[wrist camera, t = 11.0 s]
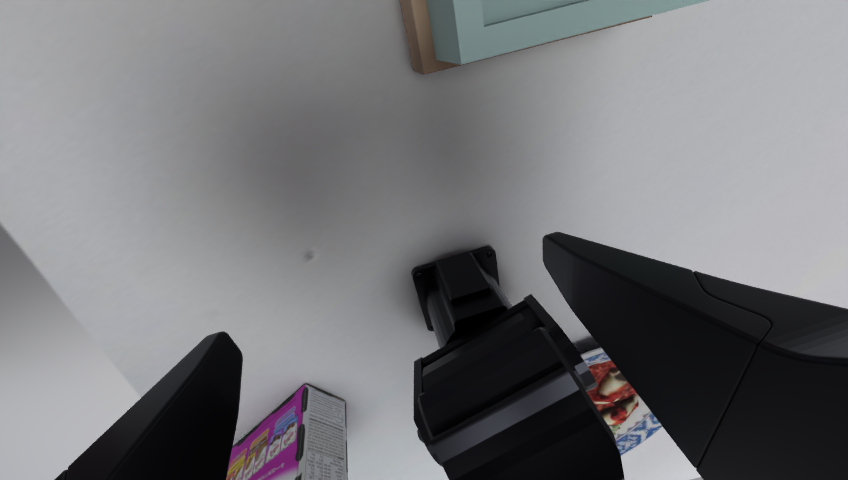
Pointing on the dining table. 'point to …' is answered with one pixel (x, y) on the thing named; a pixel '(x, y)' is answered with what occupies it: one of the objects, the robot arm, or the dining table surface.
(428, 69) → the bottom block
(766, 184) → the dining table surface
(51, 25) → the dining table surface
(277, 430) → the candy bar box
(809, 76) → the dining table surface
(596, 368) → the ceramic plate
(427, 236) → the dining table surface
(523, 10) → the top block
